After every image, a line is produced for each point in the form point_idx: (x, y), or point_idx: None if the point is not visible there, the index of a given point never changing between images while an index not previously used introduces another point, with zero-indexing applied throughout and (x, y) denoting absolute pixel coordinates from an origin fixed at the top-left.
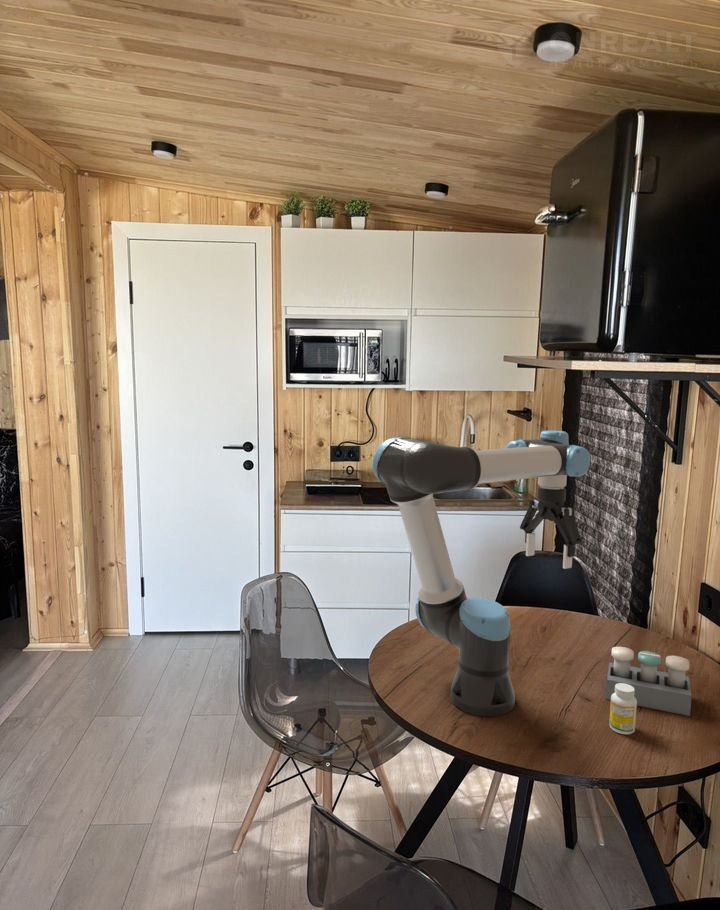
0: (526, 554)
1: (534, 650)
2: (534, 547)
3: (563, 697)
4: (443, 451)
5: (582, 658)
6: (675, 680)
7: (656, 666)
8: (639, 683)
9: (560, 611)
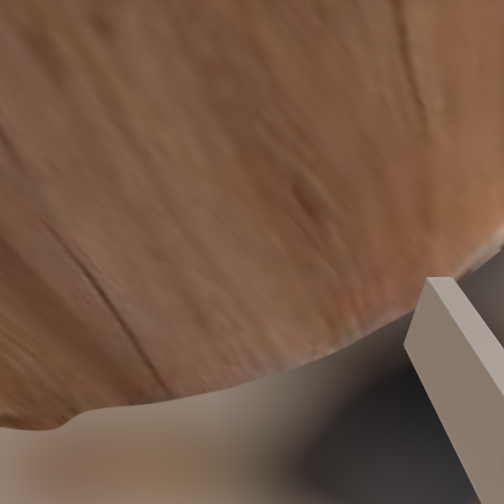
0: (449, 285)
1: (196, 22)
2: (434, 402)
3: None
4: None
5: (57, 128)
6: None
7: None
8: None
9: (357, 333)
